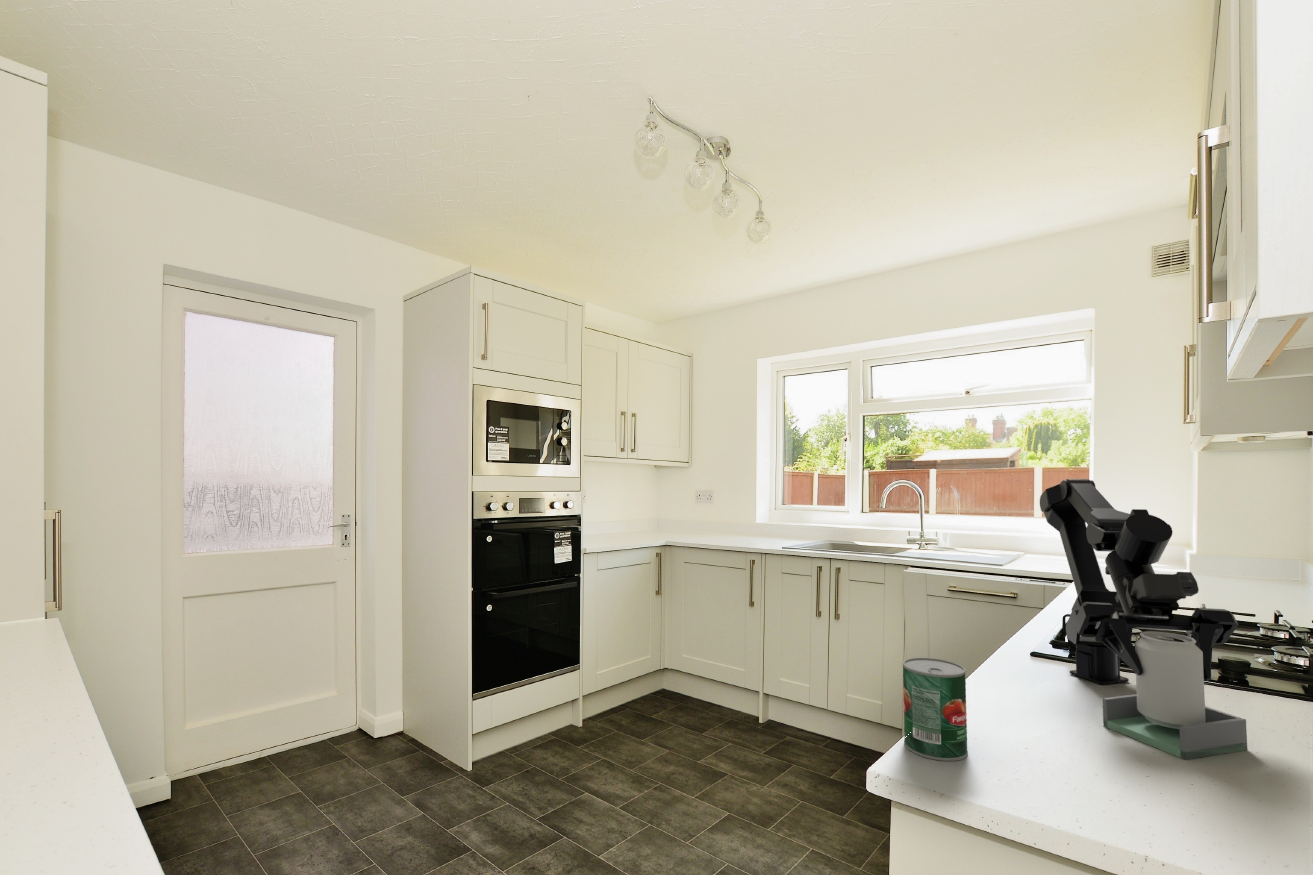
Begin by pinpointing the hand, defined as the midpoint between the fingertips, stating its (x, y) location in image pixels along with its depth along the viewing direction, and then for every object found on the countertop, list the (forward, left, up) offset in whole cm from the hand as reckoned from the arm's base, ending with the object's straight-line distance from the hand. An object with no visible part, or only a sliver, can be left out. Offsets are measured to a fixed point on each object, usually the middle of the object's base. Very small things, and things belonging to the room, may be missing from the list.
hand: (1173, 676), depth 87 cm
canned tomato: (+34, -7, -9) cm, 36 cm away
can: (-1, -1, -7) cm, 7 cm away
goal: (-1, -1, -9) cm, 9 cm away
